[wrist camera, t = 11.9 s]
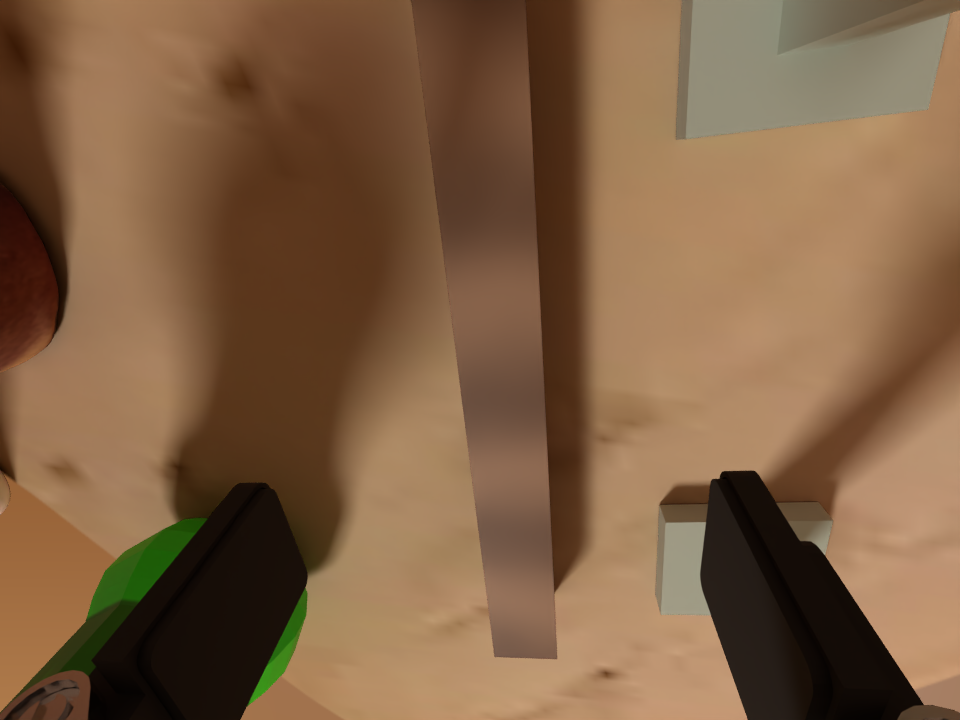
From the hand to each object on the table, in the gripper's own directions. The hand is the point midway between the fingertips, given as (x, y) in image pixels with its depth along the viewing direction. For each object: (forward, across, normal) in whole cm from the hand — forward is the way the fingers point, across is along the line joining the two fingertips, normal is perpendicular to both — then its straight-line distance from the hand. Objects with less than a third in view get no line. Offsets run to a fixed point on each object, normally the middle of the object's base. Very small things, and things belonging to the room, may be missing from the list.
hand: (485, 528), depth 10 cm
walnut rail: (+11, 0, +1) cm, 11 cm away
